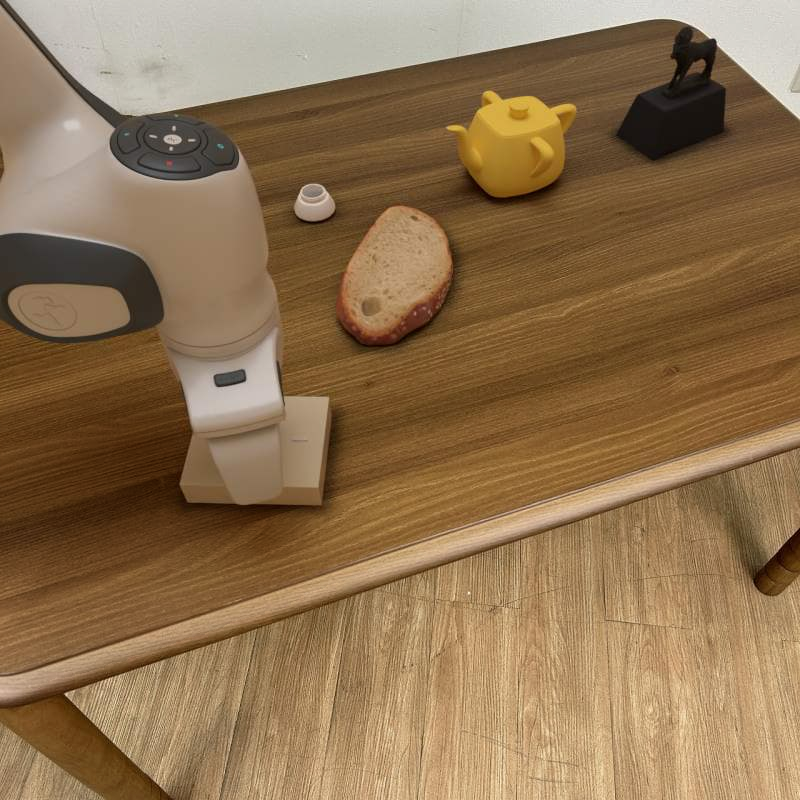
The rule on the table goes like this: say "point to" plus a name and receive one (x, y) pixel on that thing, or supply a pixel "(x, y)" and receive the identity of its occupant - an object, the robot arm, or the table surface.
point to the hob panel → (300, 458)
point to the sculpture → (678, 104)
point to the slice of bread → (395, 277)
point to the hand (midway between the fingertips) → (251, 440)
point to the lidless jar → (314, 203)
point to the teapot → (514, 144)
